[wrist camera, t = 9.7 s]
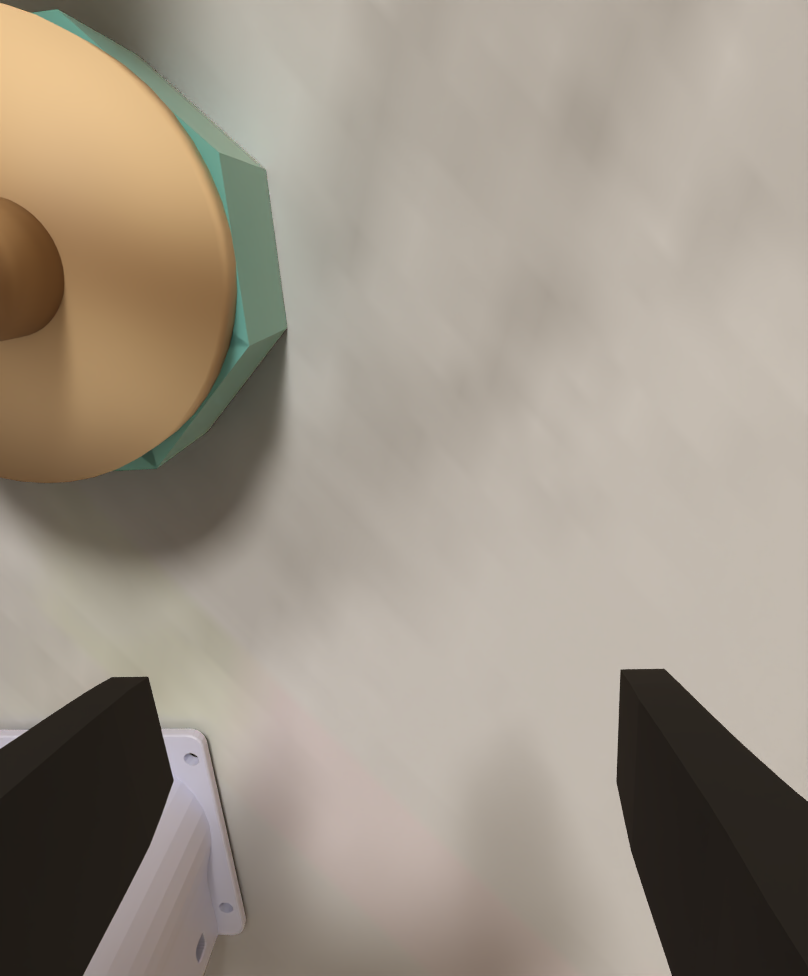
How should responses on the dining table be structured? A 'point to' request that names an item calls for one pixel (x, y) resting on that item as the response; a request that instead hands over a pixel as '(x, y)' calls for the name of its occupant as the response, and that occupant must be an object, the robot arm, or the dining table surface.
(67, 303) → the lid
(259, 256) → the bowl
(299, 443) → the dining table surface
